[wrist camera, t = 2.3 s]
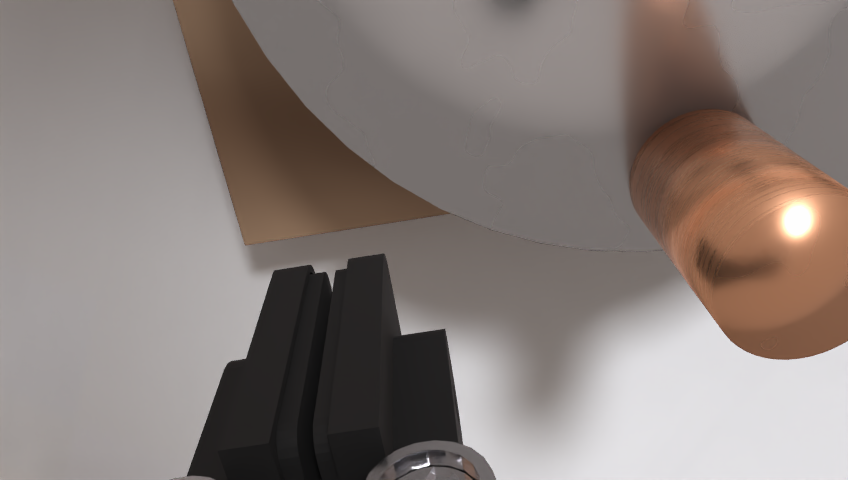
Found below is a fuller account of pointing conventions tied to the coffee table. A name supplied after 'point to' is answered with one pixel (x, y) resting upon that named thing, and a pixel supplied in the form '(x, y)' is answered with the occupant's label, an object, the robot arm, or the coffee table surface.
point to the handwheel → (608, 132)
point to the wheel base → (280, 141)
